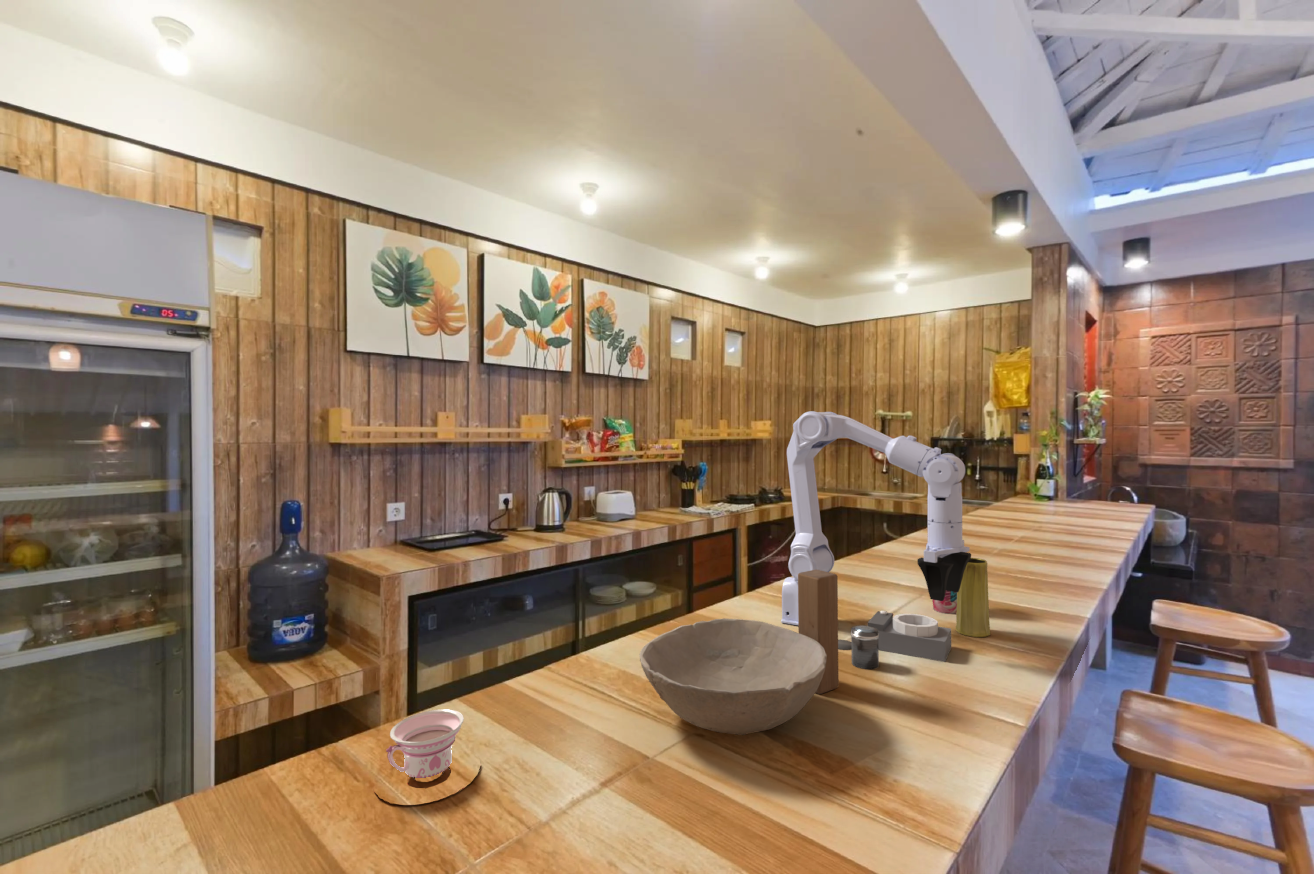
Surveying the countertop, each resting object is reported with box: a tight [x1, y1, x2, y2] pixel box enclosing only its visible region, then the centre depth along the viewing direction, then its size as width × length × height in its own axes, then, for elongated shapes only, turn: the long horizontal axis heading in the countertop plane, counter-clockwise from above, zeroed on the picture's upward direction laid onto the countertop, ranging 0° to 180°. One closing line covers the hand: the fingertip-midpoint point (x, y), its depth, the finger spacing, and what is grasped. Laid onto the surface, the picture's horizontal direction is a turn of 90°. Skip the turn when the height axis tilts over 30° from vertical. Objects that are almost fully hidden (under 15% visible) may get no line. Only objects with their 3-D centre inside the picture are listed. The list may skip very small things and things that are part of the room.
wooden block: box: [797, 569, 840, 695], centre depth 97 cm, size 9×4×18 cm, turn 33°
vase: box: [955, 557, 991, 638], centre depth 118 cm, size 6×6×14 cm
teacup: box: [385, 708, 465, 778], centre depth 72 cm, size 12×12×6 cm
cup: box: [931, 590, 957, 615], centre depth 133 cm, size 9×8×12 cm
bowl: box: [639, 618, 827, 736], centre depth 85 cm, size 26×26×10 cm
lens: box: [850, 625, 880, 671], centre depth 104 cm, size 4×4×6 cm
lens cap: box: [838, 639, 852, 651], centre depth 113 cm, size 5×5×1 cm
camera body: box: [867, 610, 952, 663], centre depth 111 cm, size 13×8×5 cm, turn 57°
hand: (944, 595), depth 109 cm, fingers open, 7 cm apart
